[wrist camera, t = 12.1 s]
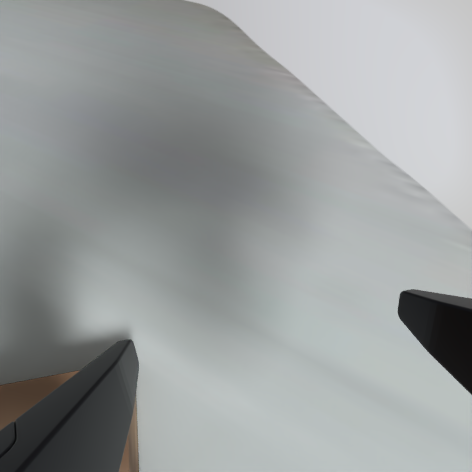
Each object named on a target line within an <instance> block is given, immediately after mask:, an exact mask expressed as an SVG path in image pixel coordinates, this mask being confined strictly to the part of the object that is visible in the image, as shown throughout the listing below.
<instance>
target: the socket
mask: <svg viewBox="0 0 472 472" xmlns="http://www.w3.org/2000/svg"><path fill="white" fill-rule="evenodd" d="M79 371H80V370H79ZM79 371H74V372H68V373H63V374H58V375H52V376H47V377H41V378H36V379H31V380H25V381H20V382H15V383H9V384H4V385H0V430H1V429H3V428H4V427H5V426H7V425H8V424H9V423H11V422H13V421H14V422H15V420H16V419H17V418H18V417H19V416H21V415H22V414H23V413H25V412H26V411H27V410H29V409H30V408H31V407H33V406H34V405H35V404H37V403H38V402H39V401H41V400H42V399H43V398H45V397H46V396H47V395H48V394H50V393H51V392H52V391H54V390H55V389H56V388H58V387H59V386H60V385H62V384H63V383H64V382H66V381H67V380H68V379H70V378H71V377H72V376H74V375H75V374H76V373H78V372H79ZM119 472H139V460H138V435H137V409H136V396H135V404H134V411H133V416H132V420H131V424H130V428H129V433H128V437H127V441H126V445H125V449H124V453H123V457H122V461H121V465H120V469H119Z"/></svg>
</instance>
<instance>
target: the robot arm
mask: <svg viewBox="0 0 472 472" xmlns="http://www.w3.org/2000/svg"><path fill="white" fill-rule="evenodd" d="M398 315H399V318H400V319H401V321H402V322H403V323H404V324H405V325H406V327H407V328H408V329H409V330H410V331H411V332H412V334H413V335H414V336H415V337H416V338H417V340H418V341H419V342H420V343H421V344H422V345H423V347H424V348H425V349H426V350H427V351H428V352H429V353H430V354H431V355H432V356H433V357H434V358H435V359H436V360H437V361H438V362H439V363H440V364H441V365H442V366H443V367H444V368H445V369H446V370H447V371H448V372H449V373H450V374H451V375H452V376H453V377H454V378H455V379H456V380H457V381H458V382H459V383H460V384H461V385H462V386H463V387H464V388H465V389H466V390H467V391H468V392H469V393H470V394H471V395H472V299H470V298H464V297H458V296H452V295H445V294H439V293H433V292H427V291H421V290H414V289H411V290H406V291H402V292H401V294H400V298H399V305H398ZM138 371H139V362H138V357H137V353H136V350H135V346H134V343H133V341H132V340H131V339H129V340H123V341H119V342H117V343H116V344H114V345H113V346H112V347H111V348H109V349H108V350H107V351H105V352H104V353H103V354H101V355H100V356H99V357H97V358H96V359H95V360H93V361H92V362H91V363H89V364H88V365H87V366H85V367H84V368H83V369H81V370H80V371H79V372H78V373H76V374H75V375H74V376H72V377H71V378H70V379H68V380H67V381H66V382H64V383H63V384H62V385H60V386H59V387H58V388H56V389H55V390H54V391H52V392H51V393H50V394H48V395H47V396H46V397H45V398H43V399H42V400H41V401H39V402H38V403H37V404H35V405H34V406H33V407H31V408H30V409H29V410H27V411H26V412H25V413H23V414H22V415H21V416H19V417H18V418H17V419H16V420H15V422H14V421H13V422H11V423H9V424H8V425H7V426H5V427H4V428H3V429H1V430H0V472H119V469H120V465H121V461H122V457H123V453H124V449H125V445H126V441H127V437H128V433H129V428H130V424H131V420H132V416H133V411H134V404H135V396H136V388H137V379H138Z"/></svg>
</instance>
